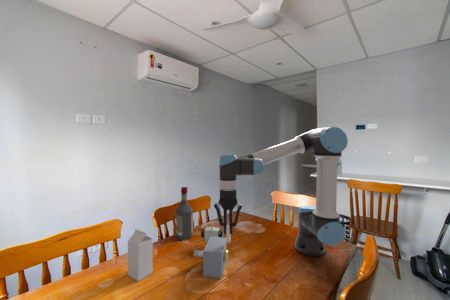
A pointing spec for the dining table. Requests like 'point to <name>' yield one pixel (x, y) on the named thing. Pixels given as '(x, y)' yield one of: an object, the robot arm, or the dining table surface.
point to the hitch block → (214, 257)
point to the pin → (200, 254)
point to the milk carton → (140, 255)
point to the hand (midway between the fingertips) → (228, 240)
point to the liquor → (184, 218)
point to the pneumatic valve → (211, 233)
